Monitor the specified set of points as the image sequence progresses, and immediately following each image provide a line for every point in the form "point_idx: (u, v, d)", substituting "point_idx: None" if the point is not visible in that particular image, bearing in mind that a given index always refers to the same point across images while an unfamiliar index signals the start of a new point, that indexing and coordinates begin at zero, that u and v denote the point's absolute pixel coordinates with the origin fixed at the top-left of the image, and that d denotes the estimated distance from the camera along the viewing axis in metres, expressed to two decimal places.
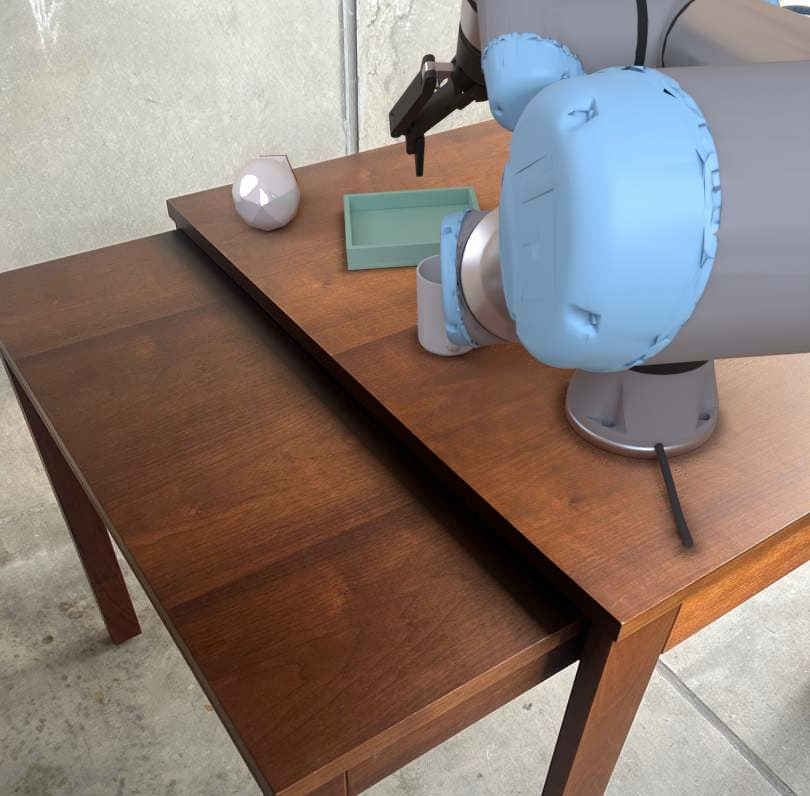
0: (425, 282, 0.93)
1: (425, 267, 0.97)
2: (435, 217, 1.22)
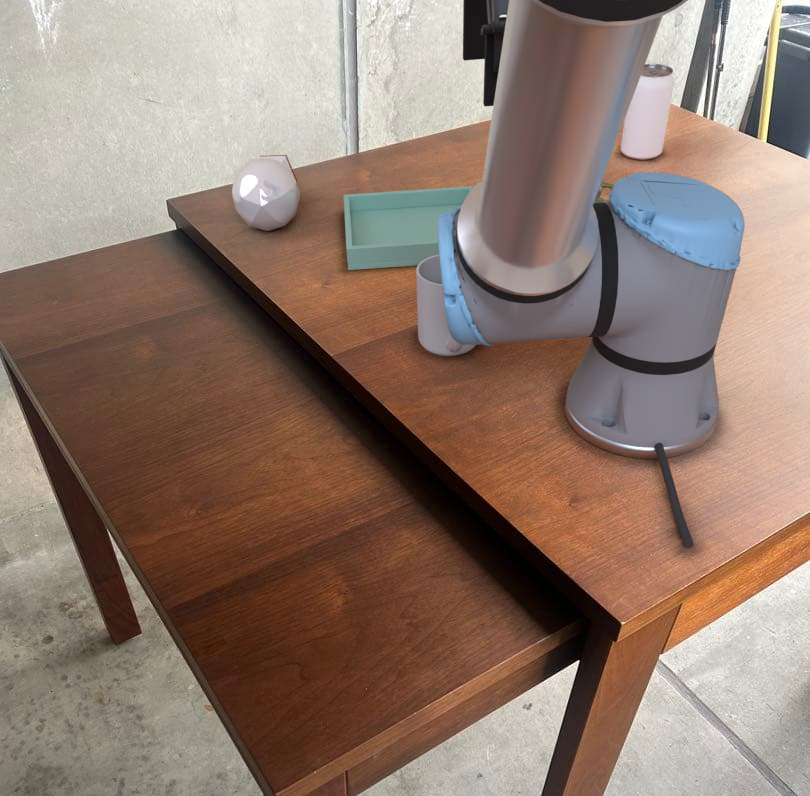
0: (425, 282, 0.93)
1: (425, 267, 0.97)
2: (435, 217, 1.22)
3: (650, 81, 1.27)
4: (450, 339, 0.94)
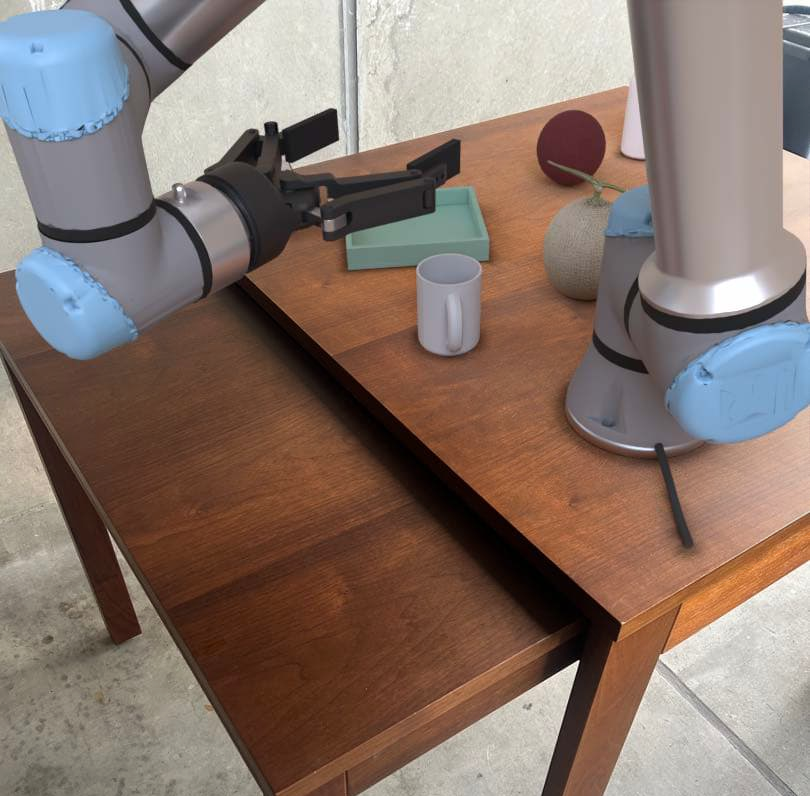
0: (425, 282, 0.93)
1: (425, 267, 0.97)
2: (435, 217, 1.22)
3: None
4: (450, 339, 0.94)
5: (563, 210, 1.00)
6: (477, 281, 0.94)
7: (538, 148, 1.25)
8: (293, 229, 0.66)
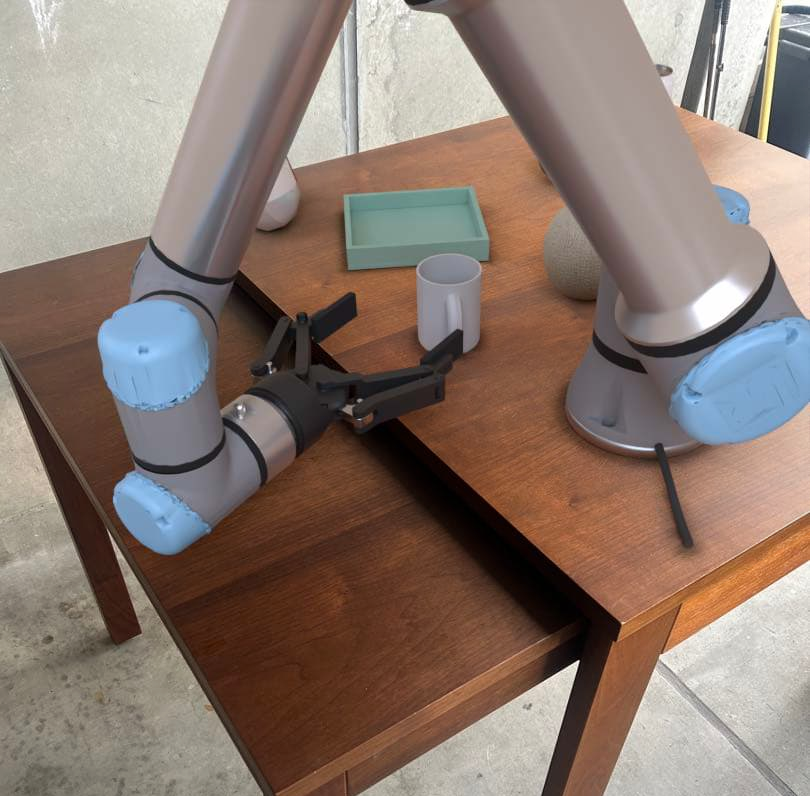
0: (425, 282, 0.93)
1: (425, 267, 0.97)
2: (435, 217, 1.22)
3: None
4: None
5: (563, 210, 1.00)
6: (477, 281, 0.94)
7: None
8: (329, 423, 0.79)
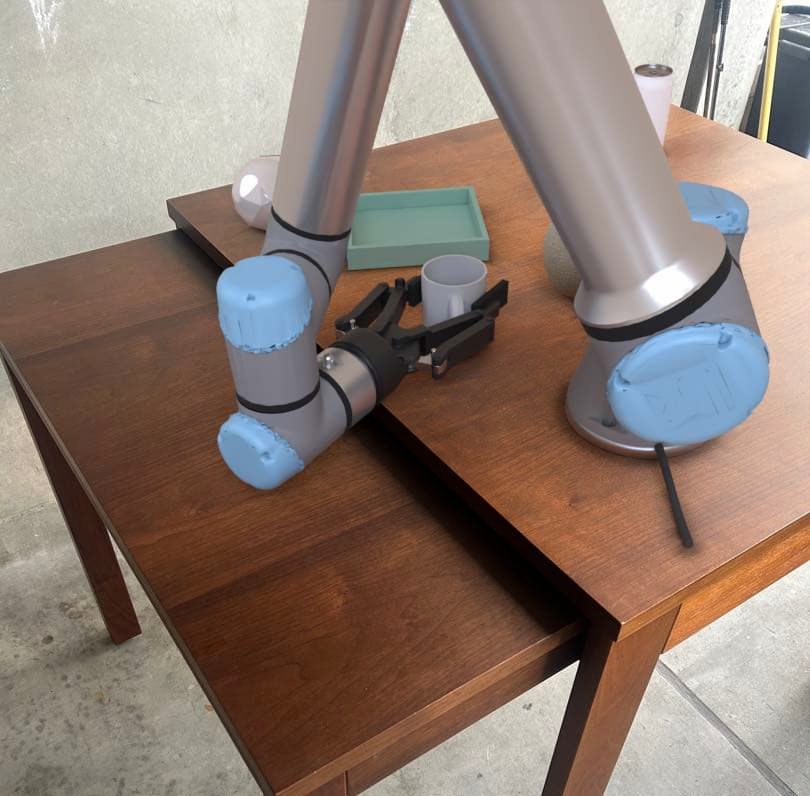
0: (429, 282, 0.93)
1: (431, 267, 0.97)
2: (435, 217, 1.22)
3: (650, 81, 1.27)
4: None
5: None
6: (482, 283, 0.93)
7: None
8: (404, 375, 0.87)
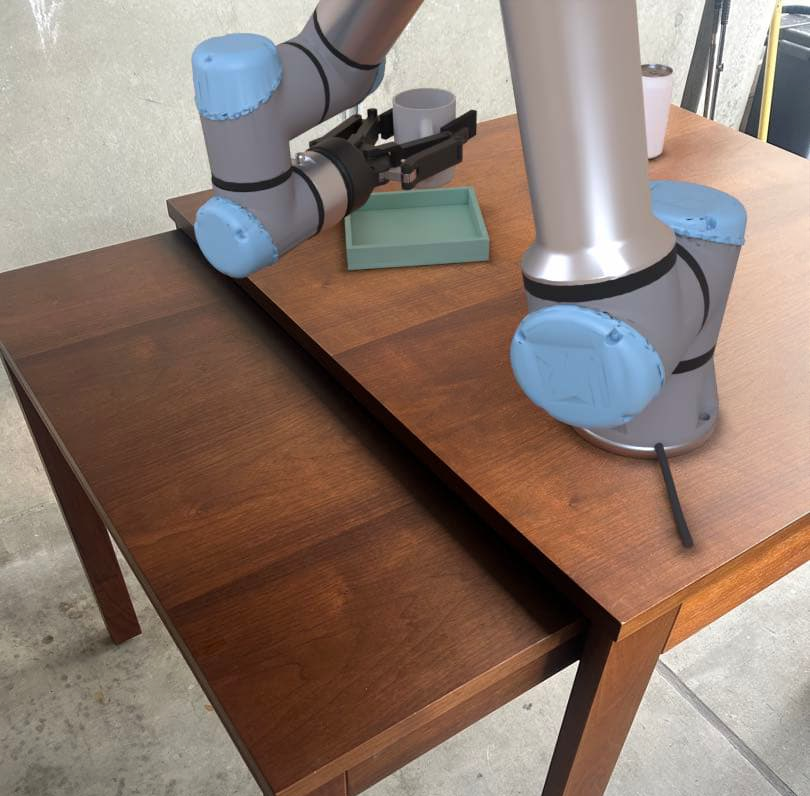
0: (399, 108, 0.96)
1: (403, 100, 1.00)
2: (435, 217, 1.22)
3: (650, 81, 1.27)
4: None
5: None
6: (450, 109, 0.97)
7: None
8: (374, 185, 0.90)
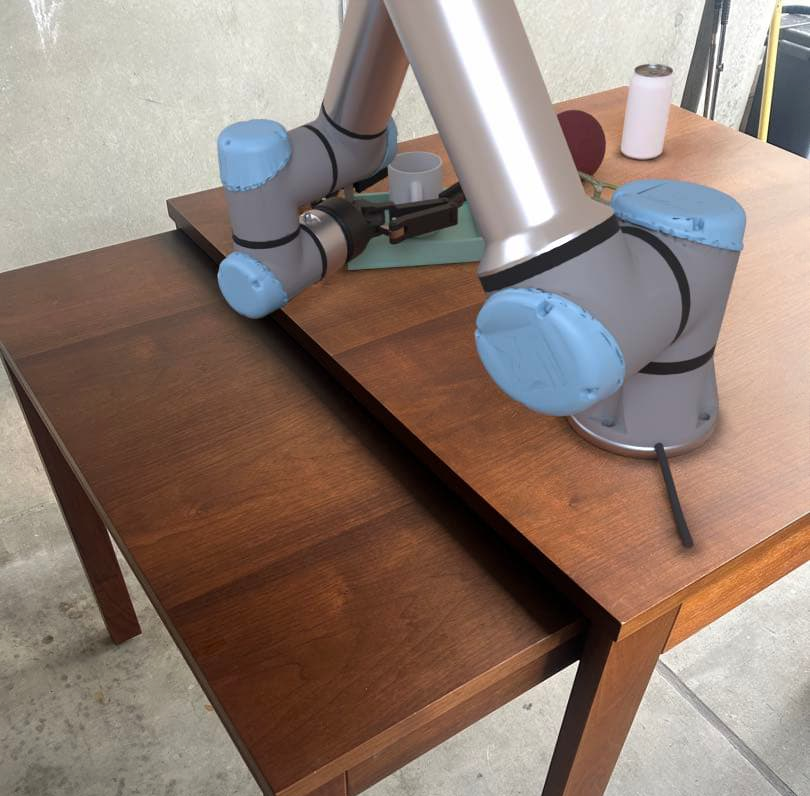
0: (393, 171, 1.12)
1: (397, 162, 1.16)
2: None
3: (650, 81, 1.27)
4: None
5: None
6: (437, 172, 1.12)
7: None
8: (371, 237, 1.05)
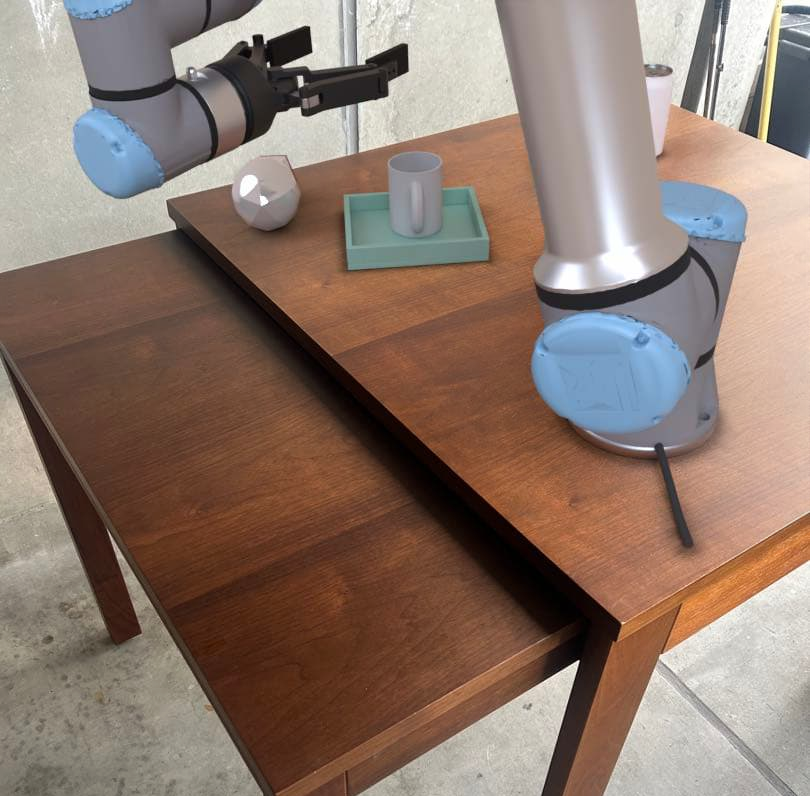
0: (393, 171, 1.12)
1: (397, 162, 1.16)
2: None
3: (650, 81, 1.27)
4: (413, 219, 1.13)
5: None
6: (437, 172, 1.12)
7: None
8: (278, 108, 0.85)
